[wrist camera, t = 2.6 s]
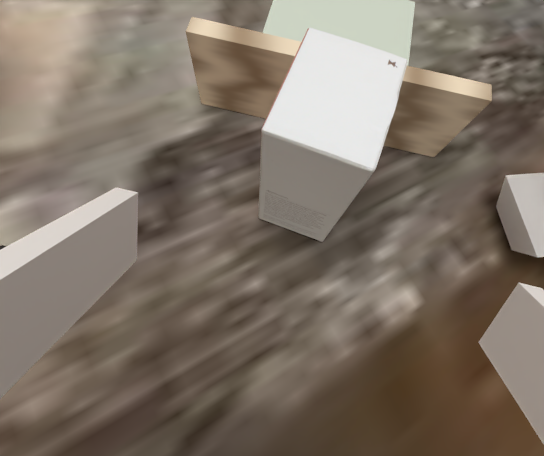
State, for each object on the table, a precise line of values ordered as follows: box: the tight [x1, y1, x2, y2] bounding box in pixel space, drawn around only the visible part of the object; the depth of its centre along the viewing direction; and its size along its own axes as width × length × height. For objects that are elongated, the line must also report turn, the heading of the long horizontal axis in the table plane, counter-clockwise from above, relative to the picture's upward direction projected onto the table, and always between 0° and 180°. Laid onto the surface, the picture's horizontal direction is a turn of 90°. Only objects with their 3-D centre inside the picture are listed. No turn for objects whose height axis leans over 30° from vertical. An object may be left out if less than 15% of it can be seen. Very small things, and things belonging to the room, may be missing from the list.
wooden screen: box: [186, 17, 492, 157], centre depth 28 cm, size 24×2×8 cm, turn 77°
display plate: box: [263, 0, 415, 66], centre depth 35 cm, size 16×16×1 cm
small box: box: [258, 28, 408, 242], centre depth 23 cm, size 8×6×13 cm
